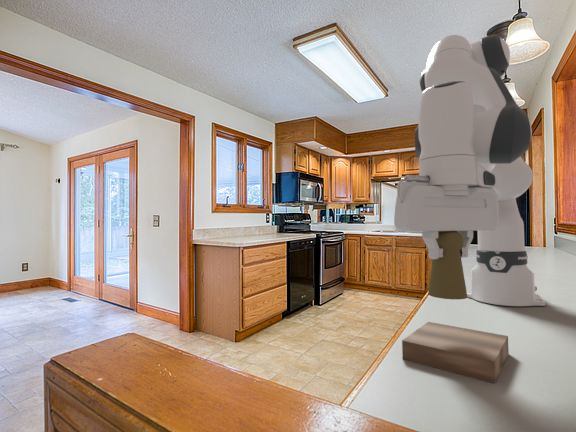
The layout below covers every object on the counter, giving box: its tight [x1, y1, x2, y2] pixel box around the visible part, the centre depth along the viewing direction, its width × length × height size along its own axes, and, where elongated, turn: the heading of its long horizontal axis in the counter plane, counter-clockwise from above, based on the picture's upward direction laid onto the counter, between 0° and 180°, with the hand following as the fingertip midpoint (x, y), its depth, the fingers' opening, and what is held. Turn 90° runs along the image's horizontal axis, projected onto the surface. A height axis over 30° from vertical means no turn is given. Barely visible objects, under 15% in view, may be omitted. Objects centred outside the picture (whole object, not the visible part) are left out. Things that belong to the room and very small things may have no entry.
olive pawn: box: [427, 231, 468, 300], centre depth 55 cm, size 6×6×11 cm
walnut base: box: [401, 321, 509, 384], centre depth 54 cm, size 13×13×3 cm
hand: (448, 258), depth 54 cm, fingers closed on olive pawn, 4 cm apart
